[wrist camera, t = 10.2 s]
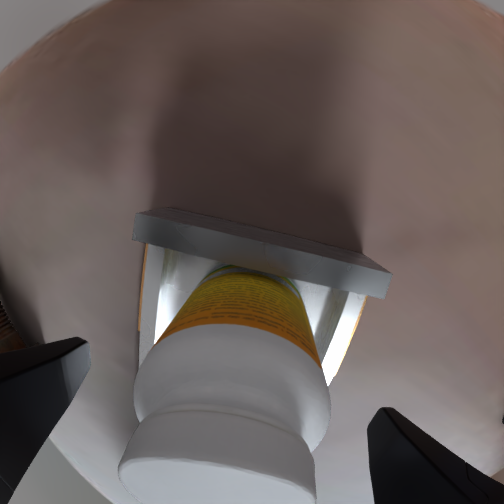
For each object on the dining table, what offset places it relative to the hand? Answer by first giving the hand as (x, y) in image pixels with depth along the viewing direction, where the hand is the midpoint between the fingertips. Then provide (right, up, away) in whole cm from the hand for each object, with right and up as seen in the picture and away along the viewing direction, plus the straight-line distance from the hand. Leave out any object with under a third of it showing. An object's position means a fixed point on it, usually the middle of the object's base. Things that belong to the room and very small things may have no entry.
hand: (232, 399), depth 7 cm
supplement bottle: (0, +1, +6) cm, 7 cm away
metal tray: (-1, -4, +8) cm, 9 cm away
